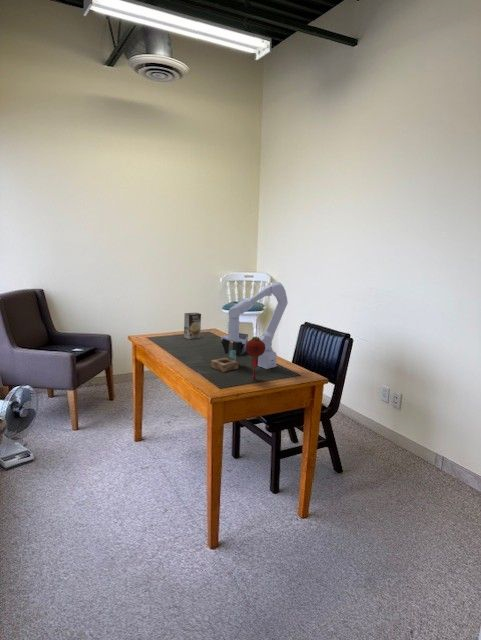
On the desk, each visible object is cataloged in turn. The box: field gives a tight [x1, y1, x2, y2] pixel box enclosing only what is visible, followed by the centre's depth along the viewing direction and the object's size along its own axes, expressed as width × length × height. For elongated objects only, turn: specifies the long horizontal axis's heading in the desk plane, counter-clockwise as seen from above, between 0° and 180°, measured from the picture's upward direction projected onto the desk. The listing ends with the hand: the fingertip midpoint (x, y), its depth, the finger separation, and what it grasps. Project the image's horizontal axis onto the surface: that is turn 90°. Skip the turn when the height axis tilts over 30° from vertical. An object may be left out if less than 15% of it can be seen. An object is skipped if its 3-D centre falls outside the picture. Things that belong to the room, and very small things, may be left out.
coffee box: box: [183, 312, 202, 340], centre depth 276 cm, size 9×6×16 cm
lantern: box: [246, 320, 265, 380], centre depth 199 cm, size 10×10×30 cm
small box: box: [232, 332, 249, 356], centre depth 245 cm, size 11×6×10 cm, turn 162°
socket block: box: [210, 356, 239, 373], centre depth 216 cm, size 10×10×4 cm
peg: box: [229, 350, 237, 361], centre depth 223 cm, size 3×3×7 cm
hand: (232, 354), depth 223 cm, fingers open, 7 cm apart
